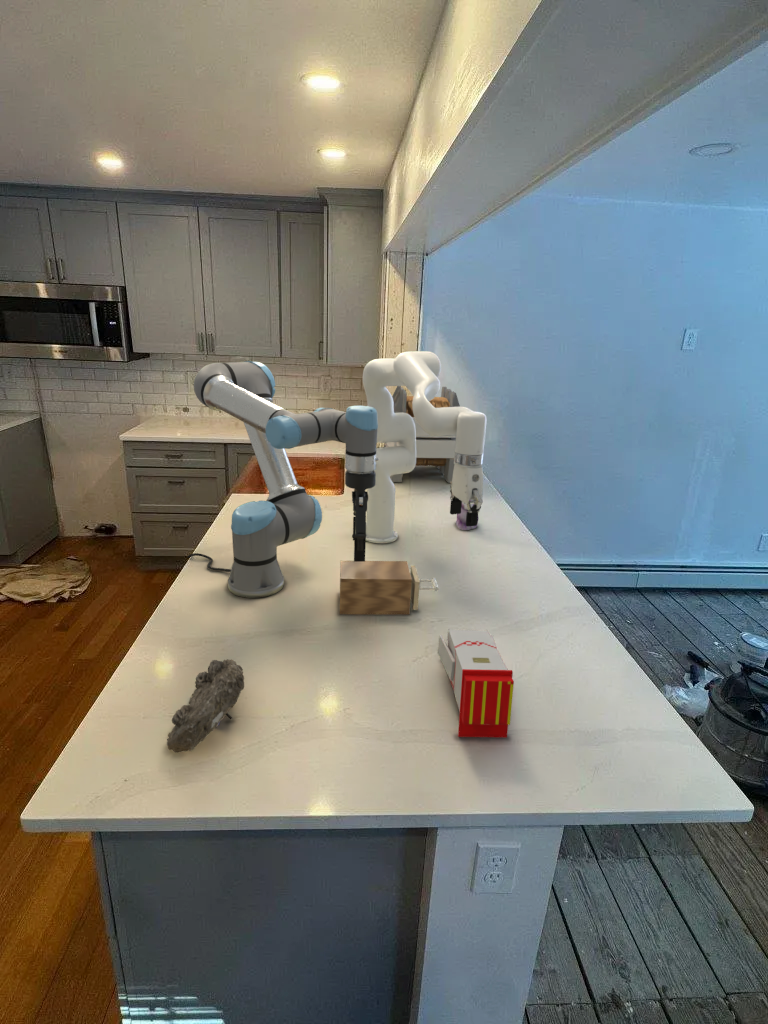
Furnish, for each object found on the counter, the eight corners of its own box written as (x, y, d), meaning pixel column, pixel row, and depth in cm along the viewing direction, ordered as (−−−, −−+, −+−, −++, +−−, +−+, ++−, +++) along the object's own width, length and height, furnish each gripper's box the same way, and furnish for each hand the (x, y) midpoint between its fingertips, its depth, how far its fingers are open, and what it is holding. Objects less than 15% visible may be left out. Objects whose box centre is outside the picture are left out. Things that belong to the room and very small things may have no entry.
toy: (488, 613, 130) (523, 677, 101) (484, 667, 133) (517, 744, 104) (435, 612, 130) (455, 676, 101) (432, 666, 133) (451, 743, 103)
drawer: (433, 592, 157) (435, 565, 155) (438, 610, 148) (441, 581, 146) (352, 592, 156) (353, 564, 153) (353, 609, 147) (354, 581, 144)
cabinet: (405, 594, 158) (407, 561, 154) (409, 614, 148) (411, 579, 144) (339, 594, 156) (340, 560, 153) (339, 614, 146) (340, 578, 143)
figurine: (464, 532, 203) (468, 492, 198) (448, 523, 212) (451, 484, 206) (485, 529, 207) (489, 490, 202) (469, 519, 216) (472, 482, 211)
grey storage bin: (382, 463, 289) (386, 382, 275) (445, 464, 293) (451, 384, 279) (390, 482, 257) (394, 392, 243) (460, 483, 261) (468, 394, 247)
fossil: (192, 660, 117) (244, 628, 112) (224, 691, 120) (276, 661, 115) (142, 746, 98) (202, 712, 93) (182, 779, 101) (242, 748, 96)
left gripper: (379, 485, 128) (375, 570, 135) (373, 458, 151) (370, 532, 158) (345, 484, 127) (344, 570, 134) (344, 457, 150) (343, 531, 157)
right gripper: (497, 466, 144) (490, 529, 149) (466, 451, 159) (461, 508, 165) (470, 468, 141) (464, 532, 147) (442, 452, 157) (437, 510, 162)
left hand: (358, 550), depth 146 cm, fingers open, 13 cm apart
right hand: (463, 519), depth 156 cm, fingers open, 9 cm apart
